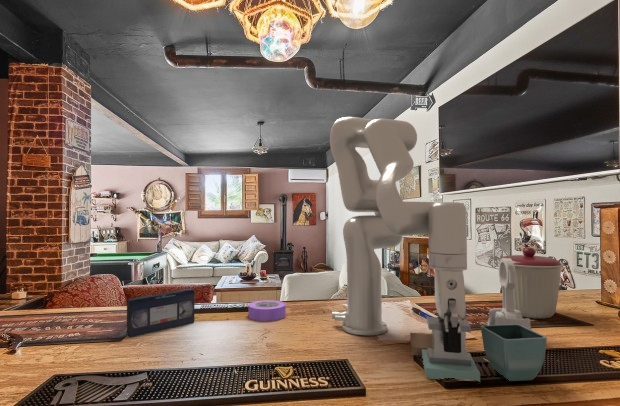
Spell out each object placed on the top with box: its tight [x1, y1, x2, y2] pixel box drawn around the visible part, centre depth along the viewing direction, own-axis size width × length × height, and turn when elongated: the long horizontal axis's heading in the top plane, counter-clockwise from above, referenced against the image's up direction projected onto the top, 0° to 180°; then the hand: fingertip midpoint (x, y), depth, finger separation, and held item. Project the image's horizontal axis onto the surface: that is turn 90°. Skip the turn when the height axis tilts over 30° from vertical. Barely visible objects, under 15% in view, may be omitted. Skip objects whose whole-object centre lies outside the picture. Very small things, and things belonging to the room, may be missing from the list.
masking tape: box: [247, 299, 287, 322], centre depth 117 cm, size 12×12×4 cm
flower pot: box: [480, 324, 548, 382], centre depth 75 cm, size 9×9×9 cm
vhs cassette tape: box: [126, 288, 196, 338], centre depth 105 cm, size 18×3×10 cm, turn 131°
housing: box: [426, 316, 472, 366], centre depth 78 cm, size 8×5×8 cm, turn 78°
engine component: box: [487, 257, 533, 331], centre depth 96 cm, size 11×20×10 cm
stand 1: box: [409, 332, 432, 357], centre depth 89 cm, size 10×10×2 cm
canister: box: [496, 246, 565, 320], centre depth 117 cm, size 18×18×21 cm
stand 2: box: [421, 349, 481, 383], centre depth 77 cm, size 10×10×2 cm
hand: (448, 343), depth 78 cm, fingers open, 9 cm apart
